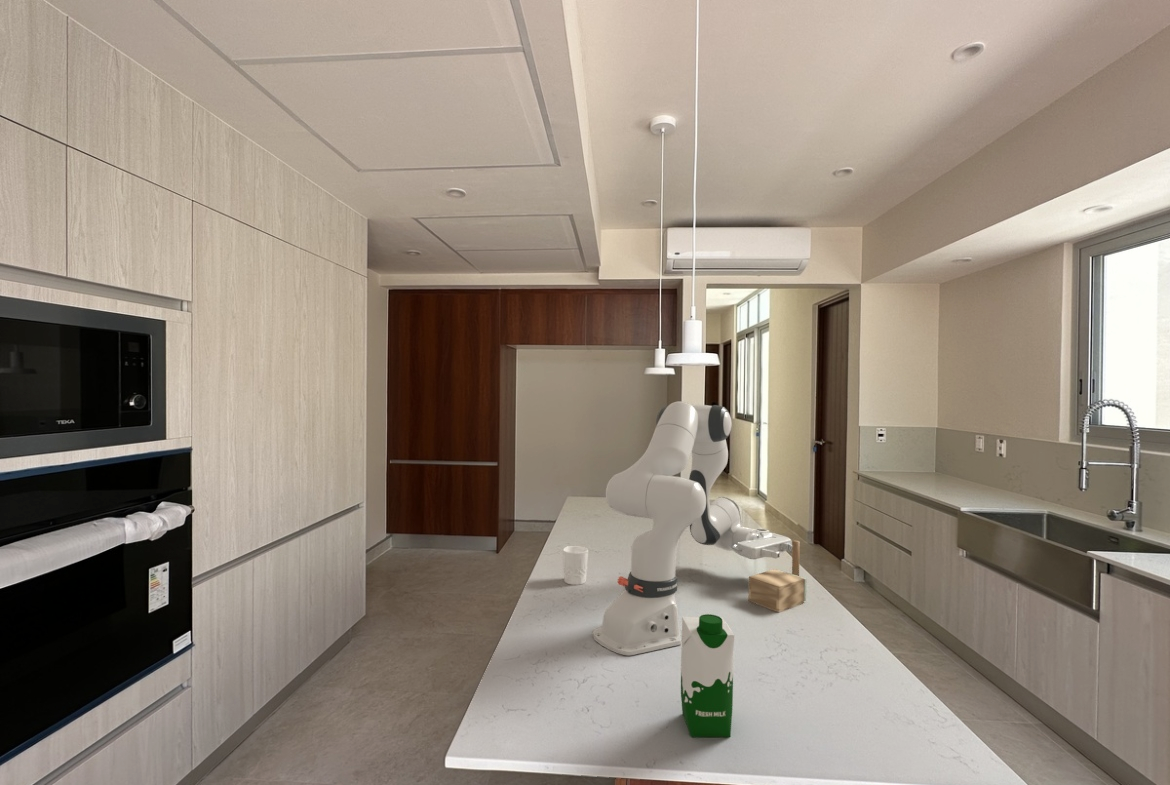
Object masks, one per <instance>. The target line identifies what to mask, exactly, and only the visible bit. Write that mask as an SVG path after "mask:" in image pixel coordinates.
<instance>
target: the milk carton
mask: <svg viewBox="0 0 1170 785" xmlns="http://www.w3.org/2000/svg"><path fill="white" fill-rule="evenodd" d="M681 618H682V619H681V620H682V621H681V623H682V624H681V648H680V650H681V652H680V654H681V655H680V662H681V663H680V699H681V711H682V712H681V713H682V716H683V719H684V722H685V724H686V727H687V730H688V732H689V735H690V738H731V733H732V718H733V702H734V701H733V698H734V697H733V696H734V695H733V694H734V651H735V650H734V649H735V634H734V632H733V630H732V629H731V628H730V626H729V624H728V623H727V622H726V621H725V620H724V618H723V617H722V616H718V615H716V614H709V613H706V614H701V615H700V616H693V617H692V616H682V617H681Z"/></svg>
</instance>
